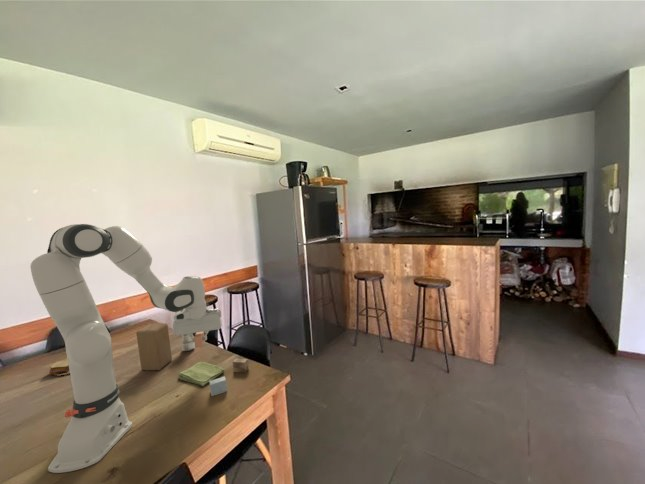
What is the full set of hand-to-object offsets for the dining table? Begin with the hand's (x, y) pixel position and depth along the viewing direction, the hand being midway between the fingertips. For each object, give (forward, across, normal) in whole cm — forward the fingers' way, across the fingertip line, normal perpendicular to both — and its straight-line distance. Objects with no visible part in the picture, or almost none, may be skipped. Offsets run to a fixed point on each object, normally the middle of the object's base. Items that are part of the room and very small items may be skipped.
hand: (199, 340), depth 125 cm
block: (+16, +25, -17) cm, 34 cm away
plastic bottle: (+16, +13, -29) cm, 36 cm away
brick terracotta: (+2, 0, 0) cm, 2 cm away
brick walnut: (+16, -17, +2) cm, 24 cm away
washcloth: (+17, +1, 0) cm, 17 cm away
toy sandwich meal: (+17, +69, -27) cm, 76 cm away
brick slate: (+16, -9, +16) cm, 24 cm away
